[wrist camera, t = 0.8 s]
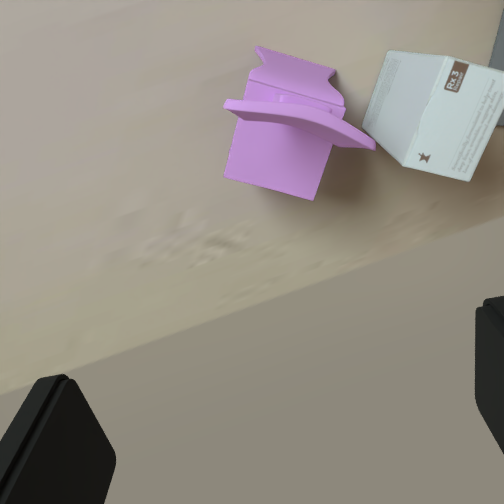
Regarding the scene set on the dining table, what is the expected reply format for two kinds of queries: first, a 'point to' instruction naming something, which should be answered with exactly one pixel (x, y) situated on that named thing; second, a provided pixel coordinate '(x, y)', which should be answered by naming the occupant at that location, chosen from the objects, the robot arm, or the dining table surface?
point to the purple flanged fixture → (288, 126)
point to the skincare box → (435, 112)
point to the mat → (499, 57)
